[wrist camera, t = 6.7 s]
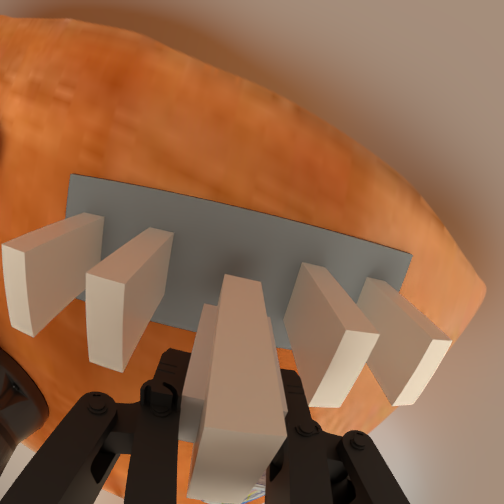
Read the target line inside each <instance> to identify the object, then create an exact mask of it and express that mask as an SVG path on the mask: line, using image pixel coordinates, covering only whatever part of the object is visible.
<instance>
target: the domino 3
mask: <svg viewBox="0 0 504 504" xmlns="http://www.w3.org/2000/svg"><path fill="white" fill-rule="evenodd" d="M217 306H218V310H217V317H216V323H215V330H214V336H213V343H212V350H211V357H210V364H209V371H208V378H207V385H206V393H205V400H204V404H203V409H202V413H201V418H200V422H199V426H198V431H197V435H196V440H195V443H193V450H192V458H191V465H190V473H189V481H188V489H187V498H191V499H198V500H204V501H212V502H220V503H230V504H241V503H242V502H243V501H244V499H245V498H246V497H247V495H248V494H249V493H250V491H251V490H252V488H253V487H254V486H255V484H256V483H257V482H258V480H259V479H260V477H261V476H262V474H263V473H264V471H265V470H266V469H267V467H268V466H269V464H270V463H271V461H272V459H273V458H274V456H275V455H276V453H277V452H278V450H279V449H280V447H281V445H282V444H283V442H284V441H285V439H286V437H287V432H286V426H285V420H284V414H283V408H282V402H281V396H280V390H279V384H278V378H277V372H276V367H275V361H274V355H273V349H272V343H271V337H270V331H269V326H268V320H267V314H266V308H265V302H264V297H263V291H262V285H261V282H259V281H255V280H250V279H245V278H241V277H236V276H232V275H227V274H225V275H224V279H223V283H222V288H221V292H220V297H219V301H218V305H217Z"/></svg>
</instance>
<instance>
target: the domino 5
mask: <svg viewBox="0 0 504 504" xmlns="http://www.w3.org/2000/svg"><path fill="white" fill-rule="evenodd" d="M356 305H357V306H358V307H359V309H360V310H361V311H362V312H363V314H364V315H365V316H366V317H367V318H368V320H369V321H370V322H371V323H372V325H373V326H374V327H375V329H376V330H377V331H378V332H379V334H380V335H379V337H378V339H377V342H376V344H375V346H374V348H373V349H372V351H371V353H370V355H369V357H368V359H367V361H366V363H367V365H368V366H369V368H370V370H371V371H372V373H373V375H374V376H375V378H376V380H377V381H378V383H379V385H380V387H381V388H382V390H383V392H384V393H385V395H386V397H387V398H388V400H389V402H390V404H391V405H392V406H400V405H412V404H414V403H415V401H416V400H417V398H418V397H419V395H420V394H421V392H422V391H423V390H424V388H425V387H426V385H427V383H428V382H429V380H430V379H431V377H432V375H433V374H434V372H435V371H436V369H437V368H438V366H439V364H440V362H441V361H442V359H443V357H444V356H445V354H446V352H447V350H448V348H449V347H450V345H451V343H452V340H451V339H450V338H449V337H448V336H447V335H446V334H445V333H444V332H442V331H441V330H440V329H439V328H438V327H437V326H436V325H435V324H434V323H433V322H432V321H430V320H429V319H428V318H427V317H426V316H425V315H424V314H423V313H422V312H420V311H419V310H418V309H417V308H416V307H415V306H414V305H412V304H411V303H410V302H409V301H408V300H407V299H406V298H404V297H403V296H402V295H401V294H400V293H399V292H397V291H396V290H395V289H394V288H393V287H391V286H390V285H389V284H388V283H387V282H386V281H382V280H378V279H374V278H369V277H367V278H366V281H365V283H364V286H363V289H362V291H361V294H360V296H359V299H358V301H357V304H356Z"/></svg>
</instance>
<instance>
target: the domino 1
mask: <svg viewBox="0 0 504 504" xmlns="http://www.w3.org/2000/svg"><path fill="white" fill-rule="evenodd" d="M104 218H105V217H103V216H99V215H94V214H90V213H85V212H84V213H81V214H78V215H75V216H72V217H70V218H67V219H64V220H61V221H58V222H56V223H53V224H50V225H48V226H45V227H42V228H40V229H37V230H35V231H32V232H29V233H27V234H24V235H22V236H20V237H17V238H15V239H12V240H10V241H8V242H5V243H3V244H2V261H3V273H4V283H5V291H6V298H7V305H8V311H9V317H10V322H11V326H12V327H14V328H15V329H17V330H19V331H21V332H23V333H25V334H27V335H29V336H31V337H33V338H34V337H35V336H36V335H37V334H38V333H39V332H40V331H41V330H42V329H43V328H44V327H45V326H46V325H47V324H48V323H49V322H50V321H51V320H52V319H53V318H54V317H55V316H56V315H58V314H59V313H60V312H61V311H62V310H63V309H64V308H65V307H66V306H67V305H68V304H69V303H70V302H72V301H73V300H74V299H75V298H76V297H77V296H78V295H79V294H80V293H82V292H83V291H84V290H85V289H86V272H88V271H89V270H90V269H91V268H93V267H94V266H95V265H97V264H98V263H100V261H101V247H102V236H103V226H104Z"/></svg>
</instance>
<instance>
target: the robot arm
mask: <svg viewBox="0 0 504 504" xmlns="http://www.w3.org/2000/svg"><path fill="white" fill-rule="evenodd" d="M217 310H218V306H213V305H209V304H205V303H204V306H203V309H202V313H201V317H200V321H199V325H198V329H197V333H196V337H195V341H194V345H193V349H192V353H188V352H184V351H180V350H176V349H172V348H169V349H168V350H167V351H166V352H164V353H163V354H162V356H161V359H160V362H159V364H158V367H157V370H156V372H155V375H154V378H153V379H152V380H148V381H147V382H145V383H144V384H143V385H142V387H141V389H140V401H139V402H136V403H131V404H124V403H115V401H114V400H113V398H111V397H110V396H109V395H107V394H105V393H102V392H90V393H86V394H85V395H83V396H82V397H81V398H80V399H79V400H78V402H77V403H76V404H75V405H74V406H73V408H72V409H71V410H70V411H69V413H68V414H67V415H66V416H65V417H64V419H63V420H62V421H61V422H60V424H59V425H58V426H57V427H56V429H55V430H54V431H53V432H52V434H51V435H50V436H49V437H48V439H47V440H46V441H45V442H44V444H43V445H42V446H41V447H40V449H39V450H38V451H37V453H36V454H35V455H34V456H33V458H32V459H31V460H30V462H29V463H28V464H27V466H26V467H25V468H24V470H23V471H22V472H21V474H20V475H19V476H18V478H17V479H16V480H15V482H14V483H13V484H12V486H11V487H10V488H9V490H8V491H7V493H6V494H5V495H4V497H3V498H2V499H1V501H0V504H93V503H94V502H95V500H96V498H97V496H98V494H99V492H100V490H101V489H102V487H103V485H104V483H105V481H106V480H107V478H108V476H109V474H110V472H111V470H112V469H113V467H114V465H115V463H116V461H117V460H118V458H119V456H120V454H131V457H130V463H129V469H128V476H127V483H126V490H125V498H124V504H176V495H177V455H178V440H182V441H187V442H191V443H195V440H196V435H197V431H198V426H199V422H200V418H201V413H202V409H203V404H204V400H205V393H206V385H207V378H208V371H209V364H210V357H211V350H212V343H213V336H214V330H215V323H216V317H217ZM267 320H268V326H269V331H270V337H271V343H272V349H273V355H274V361H275V367H276V372H277V378H278V384H279V390H280V396H281V402H282V408H283V414H284V420H285V426H286V432H287V437H286V439H285V441H284V442H283V444H282V445H281V447H280V449H279V450H278V452H277V453H276V455H275V456H274V458H273V459H272V461H271V463H270V464H269V466H268V467H267V469H266V487H265V504H410V503H409V501H408V500H407V498H406V496H405V495H404V493H403V491H402V489H401V488H400V486H399V484H398V482H397V481H396V479H395V477H394V476H393V474H392V472H391V471H390V469H389V468H388V466H387V464H386V462H385V461H384V459H383V457H382V456H381V454H380V452H379V451H378V449H377V447H376V446H375V444H374V443H373V441H372V439H371V438H370V437H369V436H368V435H367V434H365V433H364V432H361V431H358V430H351V431H349V432H347V433H346V434H345V435H344V436H343V437H342V436H338V435H334V434H330V433H327V432H324V431H322V428H321V426H320V425H319V424H318V423H317V422H316V421H314V420H312V418H311V415H310V411H309V407H308V403H307V400H306V396H305V392H304V388H303V385H302V381H301V378H300V377H299V376H298V374H297V373H296V372H295V371H294V370H286V369H280V366H279V361H278V356H277V350H276V345H275V340H274V335H273V329H272V324H271V319H270V317H267ZM48 416H49V411H48V407H47V404H46V402H45V400H44V398H43V396H42V394H41V392H40V391H39V389H38V388H37V386H36V385H35V384H34V382H33V381H32V380H31V378H30V377H29V376H28V375H27V374H26V372H25V371H24V370H23V369H22V368H21V367H20V366H19V365H18V364H17V363H16V362H15V361H14V360H13V359H12V358H11V357H10V356H9V355H8V354H6V353H5V352H4V351H3V350H1V349H0V476H1V474H2V472H3V470H4V468H5V467H6V465H7V463H8V461H9V459H10V457H11V455H12V454H13V452H14V450H15V448H16V446H17V445H18V444H19V443H20V442H21V441H23V440H24V439H26V438H27V437H29V436H30V435H31V434H33V433H34V432H35V431H37V430H38V429H40V428H41V427H42V426H43V425H44V423H45V421H46V420H47V418H48Z"/></svg>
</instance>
